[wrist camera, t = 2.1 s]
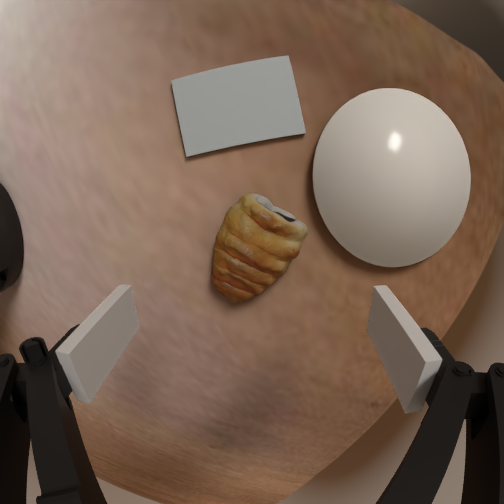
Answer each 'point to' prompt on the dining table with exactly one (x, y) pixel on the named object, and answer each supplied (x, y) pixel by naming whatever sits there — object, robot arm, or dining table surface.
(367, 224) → the plate
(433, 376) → the robot arm
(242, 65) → the napkin
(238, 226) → the pastry
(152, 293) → the dining table surface
